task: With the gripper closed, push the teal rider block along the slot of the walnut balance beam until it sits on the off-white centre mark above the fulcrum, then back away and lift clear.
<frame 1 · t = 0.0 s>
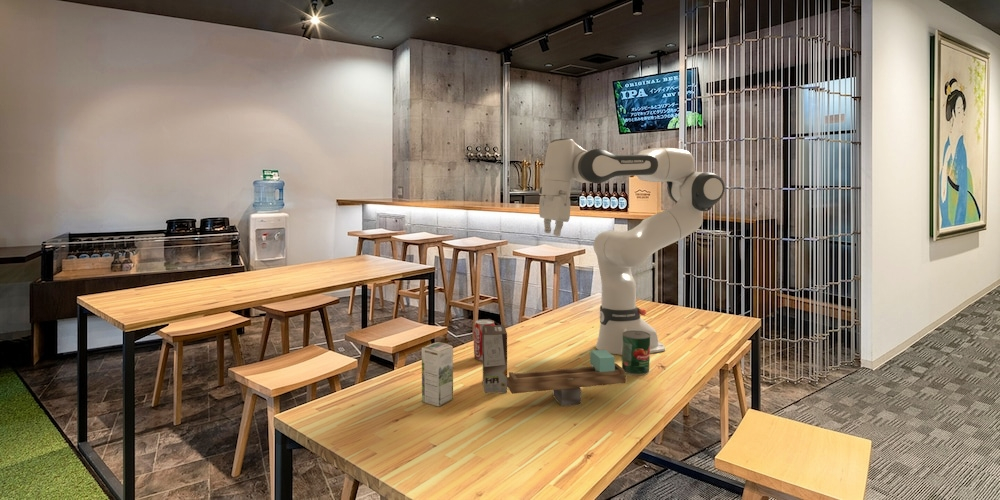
hand: (551, 234, 169), 39 cm above the table, tool pointing down, fingers open, 8 cm apart
beam: (566, 399, 137), on the table
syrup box: (438, 401, 136), on the table
canned tomato: (635, 371, 158), on the table
rider: (602, 363, 137), point 9 cm above the table, slide at -9.5 cm
coffee box: (494, 387, 146), on the table
soda can: (485, 359, 169), on the table
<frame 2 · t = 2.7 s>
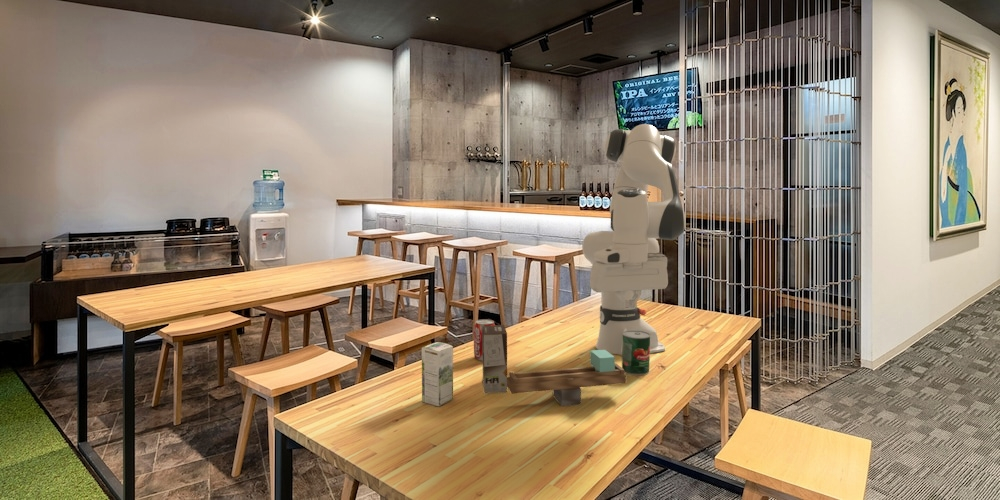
hand: (628, 307, 137), 23 cm above the table, tool pointing down, fingers closed
nothing on the table moved.
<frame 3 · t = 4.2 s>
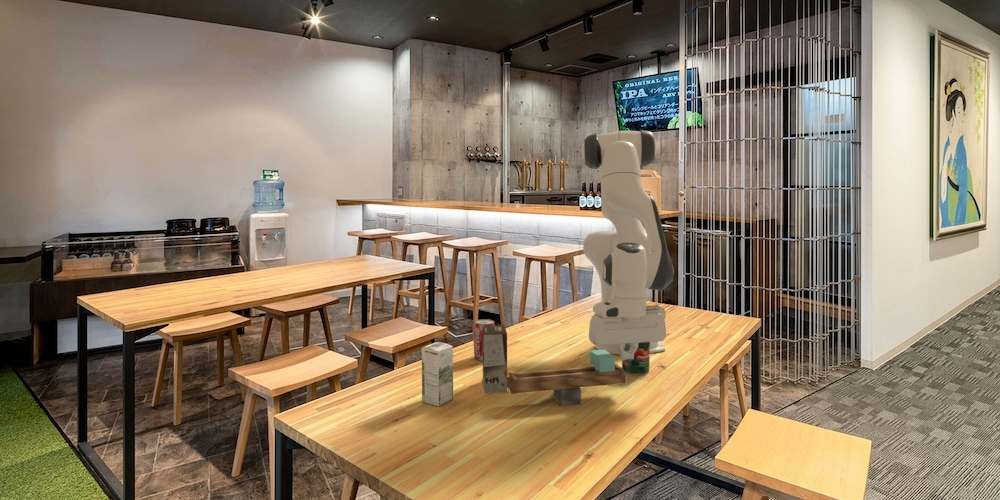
hand: (627, 359, 139), 9 cm above the table, tool pointing down, fingers closed
nothing on the table moved.
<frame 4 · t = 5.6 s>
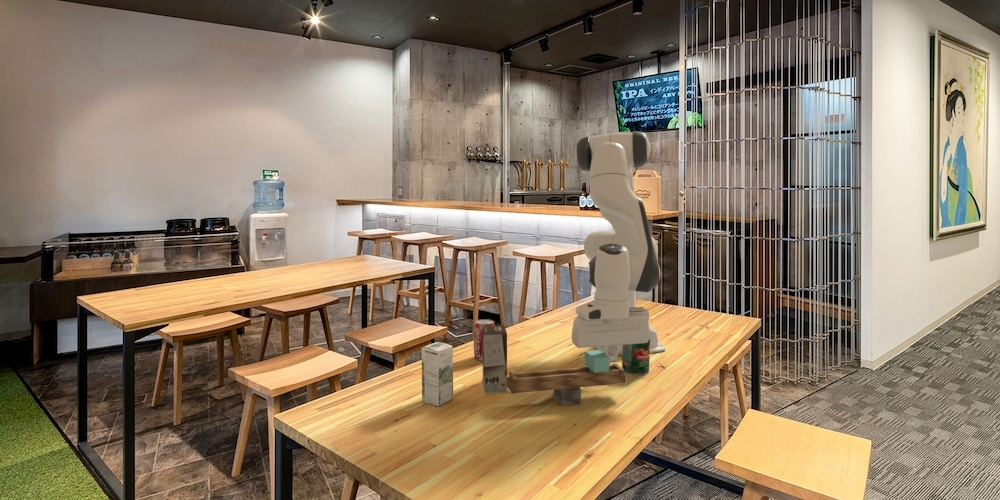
hand: (610, 361, 138), 9 cm above the table, tool pointing down, fingers closed
rider: (596, 363, 137), point 9 cm above the table, slide at -8.0 cm, touching gripper
everything else where it was.
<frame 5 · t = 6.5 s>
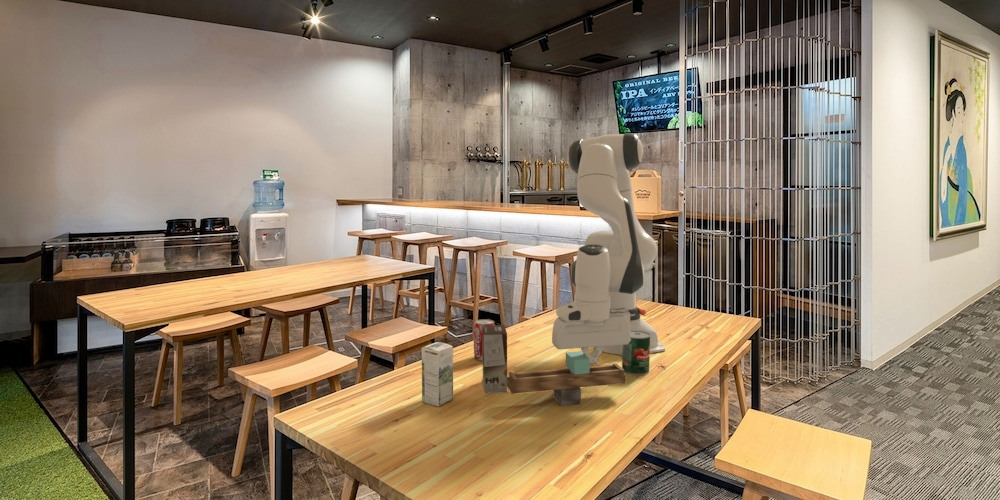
hand: (591, 363, 137), 9 cm above the table, tool pointing down, fingers closed
rider: (577, 365, 136), point 9 cm above the table, slide at -2.8 cm, touching gripper
everything else where it was.
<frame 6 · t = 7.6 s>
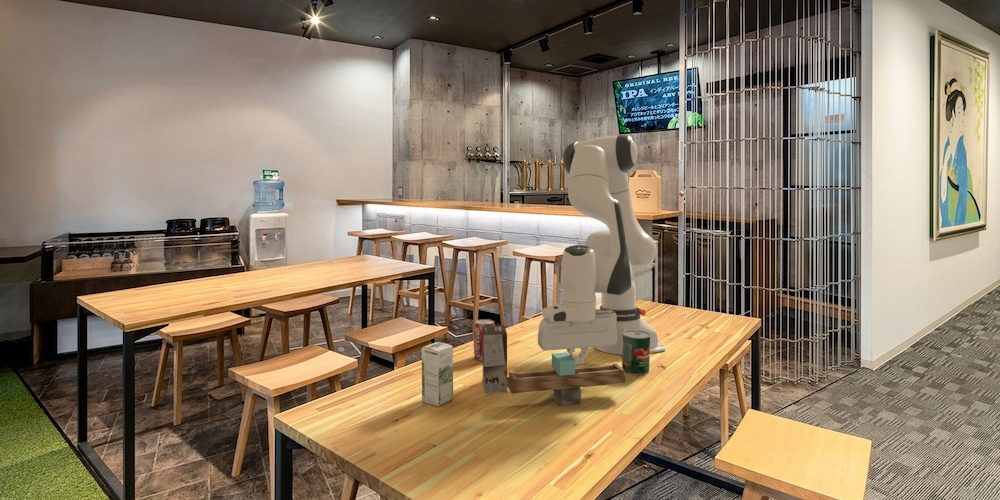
hand: (577, 364, 136), 9 cm above the table, tool pointing down, fingers closed
rider: (563, 366, 135), point 9 cm above the table, slide at 1.0 cm, touching gripper
everything else where it was.
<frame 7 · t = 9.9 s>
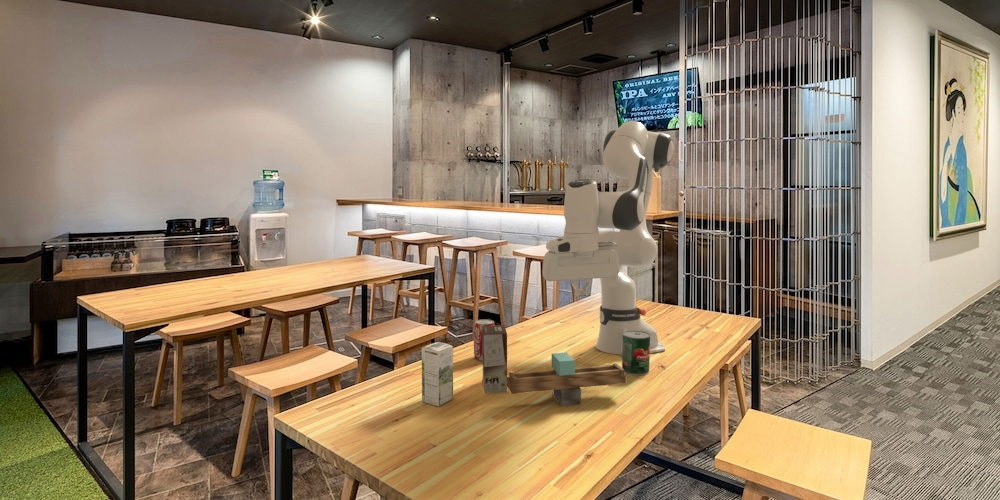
hand: (581, 295, 140), 26 cm above the table, tool pointing down, fingers closed
rider: (563, 366, 135), point 9 cm above the table, slide at 1.1 cm
everything else where it was.
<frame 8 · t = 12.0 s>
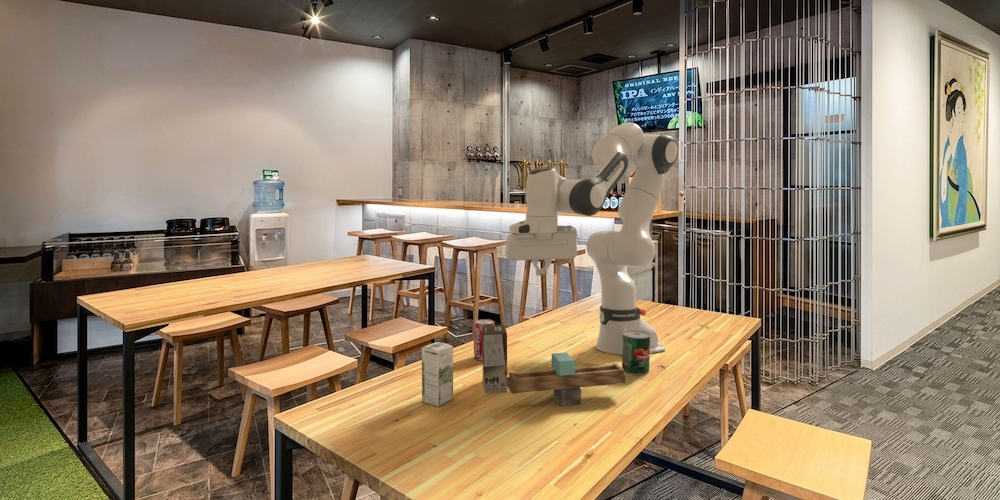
hand: (541, 275, 151), 29 cm above the table, tool pointing down, fingers closed
nothing on the table moved.
at the end: rider slide at 1.1 cm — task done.
